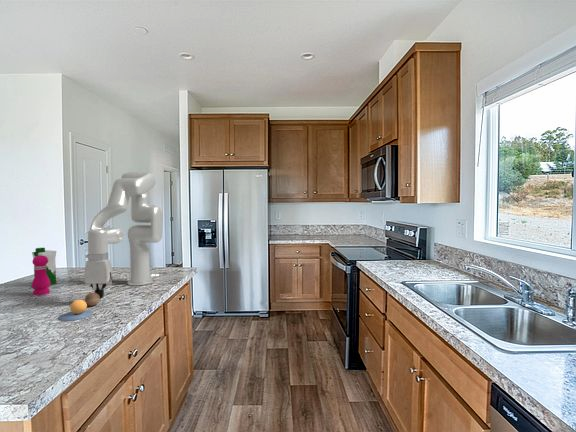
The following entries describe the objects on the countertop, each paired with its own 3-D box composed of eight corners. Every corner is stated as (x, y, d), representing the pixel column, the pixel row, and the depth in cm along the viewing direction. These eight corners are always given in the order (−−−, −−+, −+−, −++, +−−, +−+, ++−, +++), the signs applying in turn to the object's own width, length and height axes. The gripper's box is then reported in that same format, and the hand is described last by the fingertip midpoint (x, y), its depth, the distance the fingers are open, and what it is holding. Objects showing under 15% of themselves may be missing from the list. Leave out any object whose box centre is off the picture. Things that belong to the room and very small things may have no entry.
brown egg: (88, 292, 134) (87, 306, 133) (102, 292, 138) (101, 305, 137) (83, 292, 137) (81, 306, 136) (97, 292, 142) (95, 305, 140)
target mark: (88, 309, 133) (88, 308, 133) (95, 315, 125) (95, 315, 125) (55, 315, 125) (55, 315, 125) (60, 323, 117) (60, 322, 117)
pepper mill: (40, 296, 152) (39, 253, 151) (27, 295, 153) (26, 253, 153) (54, 291, 159) (53, 251, 158) (42, 291, 160) (41, 251, 160)
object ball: (82, 294, 129) (74, 300, 124) (92, 304, 130) (84, 310, 125) (72, 303, 129) (63, 309, 124) (82, 312, 130) (74, 319, 125)
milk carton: (30, 286, 170) (29, 248, 170) (48, 282, 179) (47, 246, 178) (42, 287, 168) (41, 249, 167) (59, 283, 176) (58, 246, 175)
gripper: (75, 258, 138) (76, 301, 139) (111, 258, 139) (112, 300, 140) (85, 256, 145) (86, 296, 146) (119, 255, 146) (120, 295, 147)
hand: (99, 298), depth 143 cm, fingers closed
